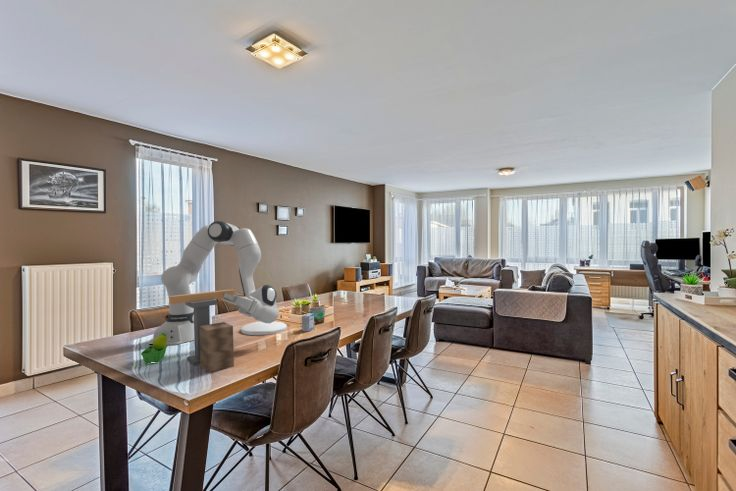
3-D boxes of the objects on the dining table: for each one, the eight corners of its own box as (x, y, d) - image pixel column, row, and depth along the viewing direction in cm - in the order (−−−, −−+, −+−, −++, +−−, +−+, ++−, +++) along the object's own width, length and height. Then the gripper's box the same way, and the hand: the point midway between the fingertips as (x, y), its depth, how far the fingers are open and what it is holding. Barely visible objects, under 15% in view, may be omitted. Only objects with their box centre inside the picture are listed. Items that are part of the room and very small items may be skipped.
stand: (211, 354, 161) (209, 297, 160) (218, 360, 153) (217, 300, 153) (187, 360, 154) (185, 300, 154) (193, 366, 147) (191, 303, 146)
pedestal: (225, 360, 153) (224, 322, 153) (233, 366, 146) (232, 326, 145) (200, 366, 146) (199, 326, 146) (208, 372, 139) (207, 330, 139)
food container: (317, 325, 211) (316, 309, 211) (309, 324, 214) (309, 308, 214) (330, 321, 222) (329, 305, 221) (322, 320, 225) (322, 304, 225)
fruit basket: (149, 357, 159) (148, 332, 159) (171, 355, 162) (170, 330, 162) (140, 365, 148) (139, 338, 148) (164, 363, 151) (163, 336, 151)
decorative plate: (295, 321, 206) (257, 330, 187) (295, 329, 206) (257, 338, 187) (269, 316, 222) (232, 324, 204) (270, 323, 223) (232, 331, 204)
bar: (232, 295, 164) (232, 289, 164) (234, 296, 161) (234, 289, 161) (169, 303, 146) (168, 296, 146) (170, 304, 144) (170, 297, 144)
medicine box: (309, 331, 198) (309, 316, 198) (301, 331, 199) (301, 316, 198) (314, 328, 206) (314, 313, 205) (307, 328, 206) (306, 313, 206)
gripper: (241, 296, 175) (216, 284, 167) (259, 301, 160) (232, 289, 152) (235, 308, 173) (209, 297, 165) (253, 314, 158) (225, 302, 150)
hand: (220, 293), depth 159 cm, fingers open, 7 cm apart
